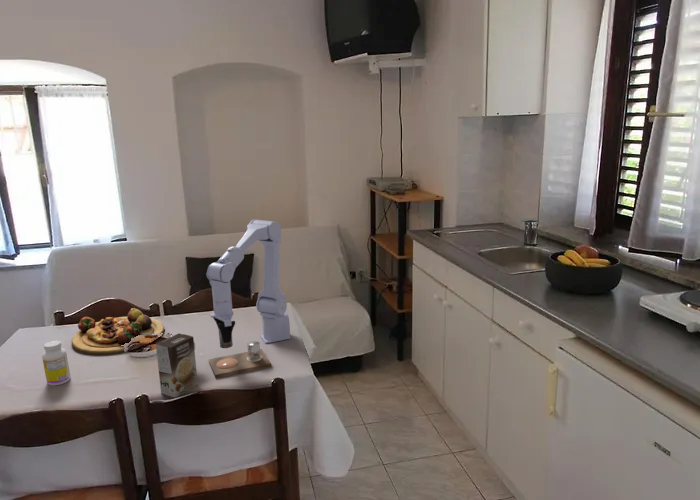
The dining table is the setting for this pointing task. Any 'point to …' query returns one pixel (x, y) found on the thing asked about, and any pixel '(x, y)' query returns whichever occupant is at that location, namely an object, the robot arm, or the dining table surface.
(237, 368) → the board
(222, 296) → the robot arm
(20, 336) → the dining table surface
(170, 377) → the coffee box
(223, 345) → the steel pin
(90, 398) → the dining table surface
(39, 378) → the dining table surface
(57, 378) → the supplement bottle
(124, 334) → the wooden plate with food
